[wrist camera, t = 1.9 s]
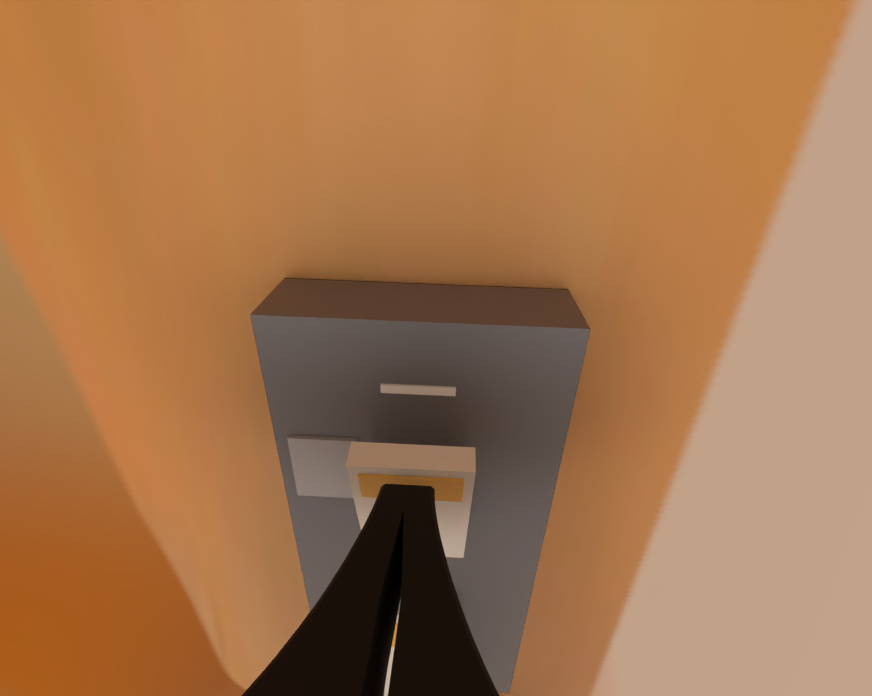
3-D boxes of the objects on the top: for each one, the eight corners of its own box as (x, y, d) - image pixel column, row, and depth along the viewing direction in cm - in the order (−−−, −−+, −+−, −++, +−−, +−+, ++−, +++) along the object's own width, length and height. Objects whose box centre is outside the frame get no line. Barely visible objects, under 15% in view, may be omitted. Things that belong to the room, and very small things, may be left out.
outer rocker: (463, 536, 17) (463, 560, 16) (369, 531, 17) (365, 554, 16) (475, 447, 13) (475, 474, 12) (351, 441, 13) (345, 467, 12)
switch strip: (504, 633, 26) (509, 695, 24) (337, 624, 27) (323, 684, 24) (568, 289, 16) (591, 331, 13) (284, 278, 16) (248, 317, 13)
